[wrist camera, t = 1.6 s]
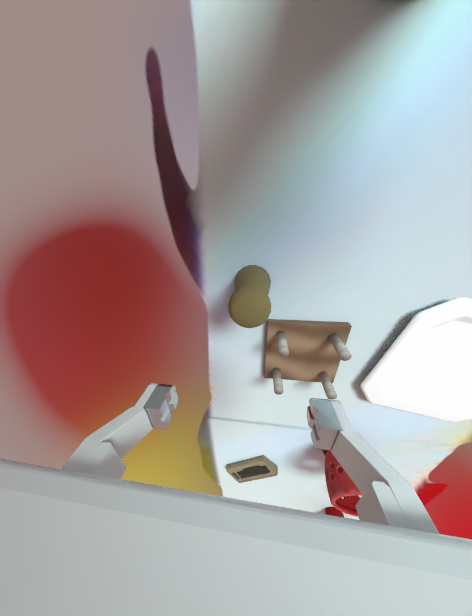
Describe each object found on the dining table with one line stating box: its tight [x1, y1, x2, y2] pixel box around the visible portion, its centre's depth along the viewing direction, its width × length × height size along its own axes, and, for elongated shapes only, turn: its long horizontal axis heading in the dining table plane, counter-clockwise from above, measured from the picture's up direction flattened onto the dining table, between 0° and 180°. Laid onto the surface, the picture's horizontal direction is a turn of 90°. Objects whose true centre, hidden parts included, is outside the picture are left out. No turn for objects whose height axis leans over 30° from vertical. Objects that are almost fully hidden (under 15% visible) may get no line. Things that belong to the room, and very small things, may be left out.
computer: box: [226, 455, 278, 483], centre depth 57 cm, size 16×8×3 cm, turn 130°
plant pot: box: [322, 449, 363, 517], centre depth 41 cm, size 13×13×12 cm
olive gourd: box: [228, 265, 271, 328], centre depth 24 cm, size 6×6×11 cm
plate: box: [361, 297, 472, 421], centre depth 31 cm, size 25×25×2 cm
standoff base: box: [264, 319, 351, 399], centre depth 32 cm, size 14×14×6 cm
